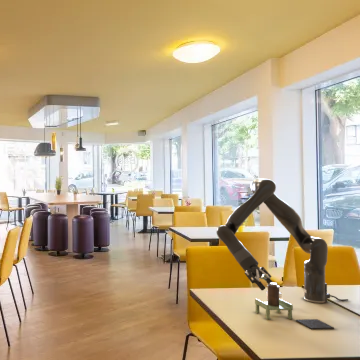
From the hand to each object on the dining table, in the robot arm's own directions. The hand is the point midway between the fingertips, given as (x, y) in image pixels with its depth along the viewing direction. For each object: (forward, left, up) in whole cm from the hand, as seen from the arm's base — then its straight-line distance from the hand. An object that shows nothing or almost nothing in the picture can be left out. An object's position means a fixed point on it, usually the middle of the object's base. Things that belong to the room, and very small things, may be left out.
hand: (268, 288), depth 182 cm
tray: (-1, +2, -12) cm, 12 cm away
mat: (-12, +14, -12) cm, 22 cm away
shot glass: (-10, -12, -12) cm, 20 cm away
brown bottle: (-1, +2, -7) cm, 8 cm away
